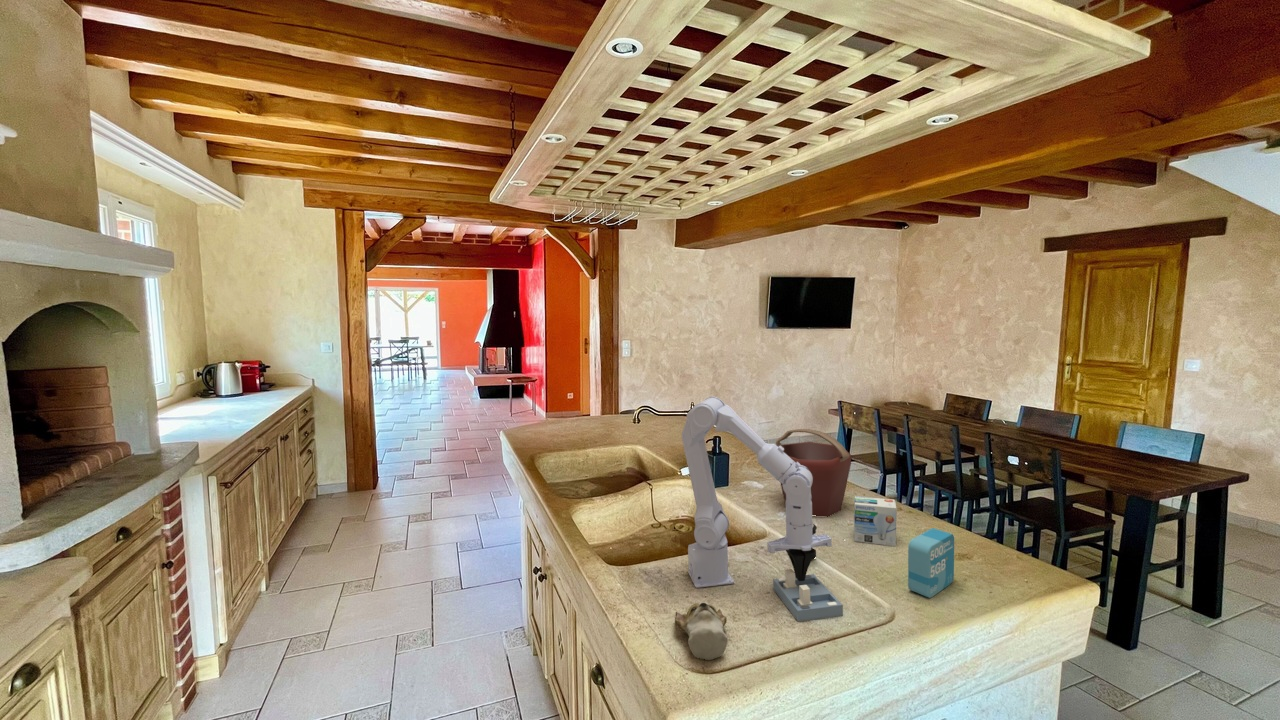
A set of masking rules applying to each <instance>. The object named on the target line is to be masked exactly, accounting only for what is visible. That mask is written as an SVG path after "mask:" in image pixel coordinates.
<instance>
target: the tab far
mask: <svg viewBox="0 0 1280 720" xmlns="http://www.w3.org/2000/svg"><path fill="white" fill-rule="evenodd" d="M784 578H785V583H783V589H787V588H795V587H798V586H797V585H796V584H795V572H794V569H792V568H788V569H784Z"/></svg>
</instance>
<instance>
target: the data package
mask: <svg viewBox="0 0 1280 720" xmlns="http://www.w3.org/2000/svg"><path fill="white" fill-rule="evenodd" d="M907 548H908V549H907V551H908V552H907V553H908V554H907V555H908V556H907V560H908V561H907V567H908V568H907V569H908V570H907V571H908V572H907V574H908V575H907V578H908V579H907V583H908V585H907V586H908V589H909V590H910V591H912V592H915V593H916V594H920V595H921V596H924V597H926V598H929V599H932V598H933V597H934V596H935V595H938V593H940V592H941V591H943V590H944V589H946V588H947V587H949V586H950V585H951V584H952V583H953V581H954V578H955V536H954V534H953V533H950V532H946V531H943V530H940V529H937V528H934V527H931V528H930V529H928V530H926V531H924V532H922V533H920V534H919V535H917V536H915V537H914V538H912V539H911V540H909V542H908V547H907Z"/></svg>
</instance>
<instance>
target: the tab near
mask: <svg viewBox="0 0 1280 720" xmlns="http://www.w3.org/2000/svg"><path fill="white" fill-rule="evenodd" d="M812 604H813V603H812V602H811V601H810V588H809V587H808V586H807V585H800V586H799V600H797V605H798V606H804V605H812Z"/></svg>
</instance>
